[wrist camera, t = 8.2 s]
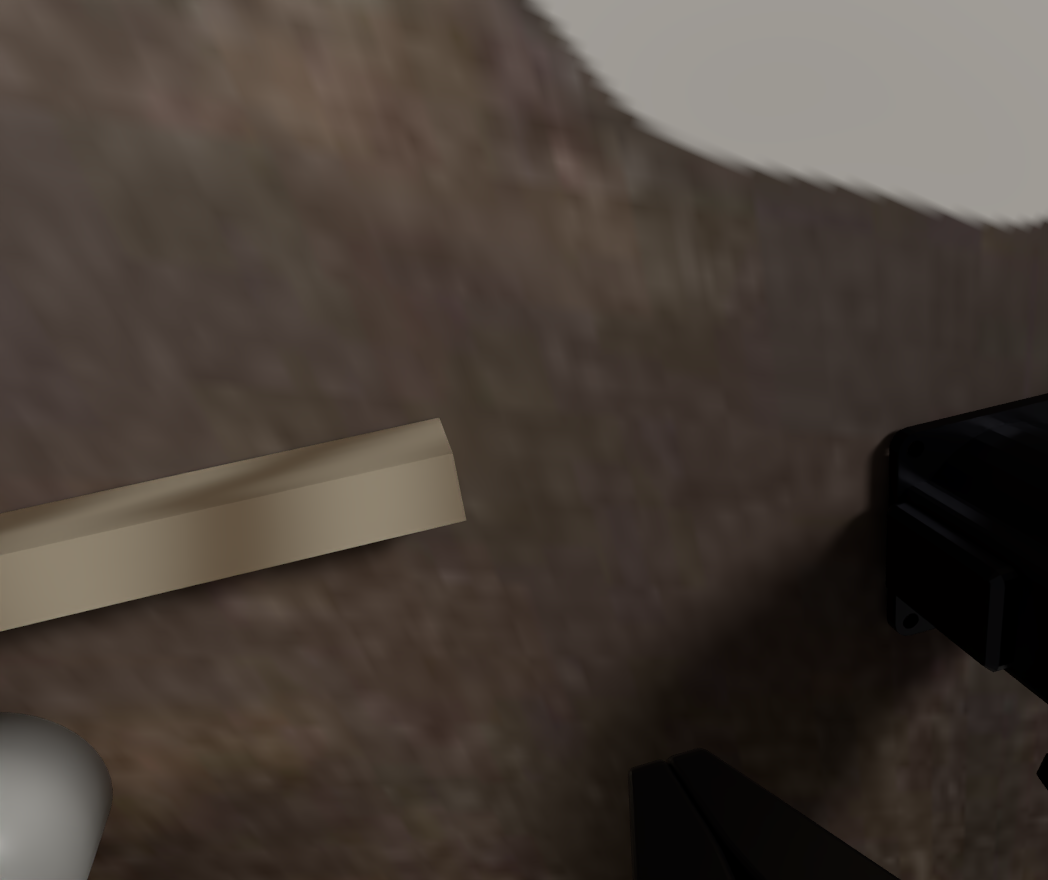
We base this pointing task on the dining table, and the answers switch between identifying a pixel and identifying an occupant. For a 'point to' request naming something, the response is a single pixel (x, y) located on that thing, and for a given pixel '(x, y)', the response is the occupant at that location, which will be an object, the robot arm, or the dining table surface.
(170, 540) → the oak rail
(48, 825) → the grey egg-shaped dome
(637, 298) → the dining table surface
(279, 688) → the dining table surface
